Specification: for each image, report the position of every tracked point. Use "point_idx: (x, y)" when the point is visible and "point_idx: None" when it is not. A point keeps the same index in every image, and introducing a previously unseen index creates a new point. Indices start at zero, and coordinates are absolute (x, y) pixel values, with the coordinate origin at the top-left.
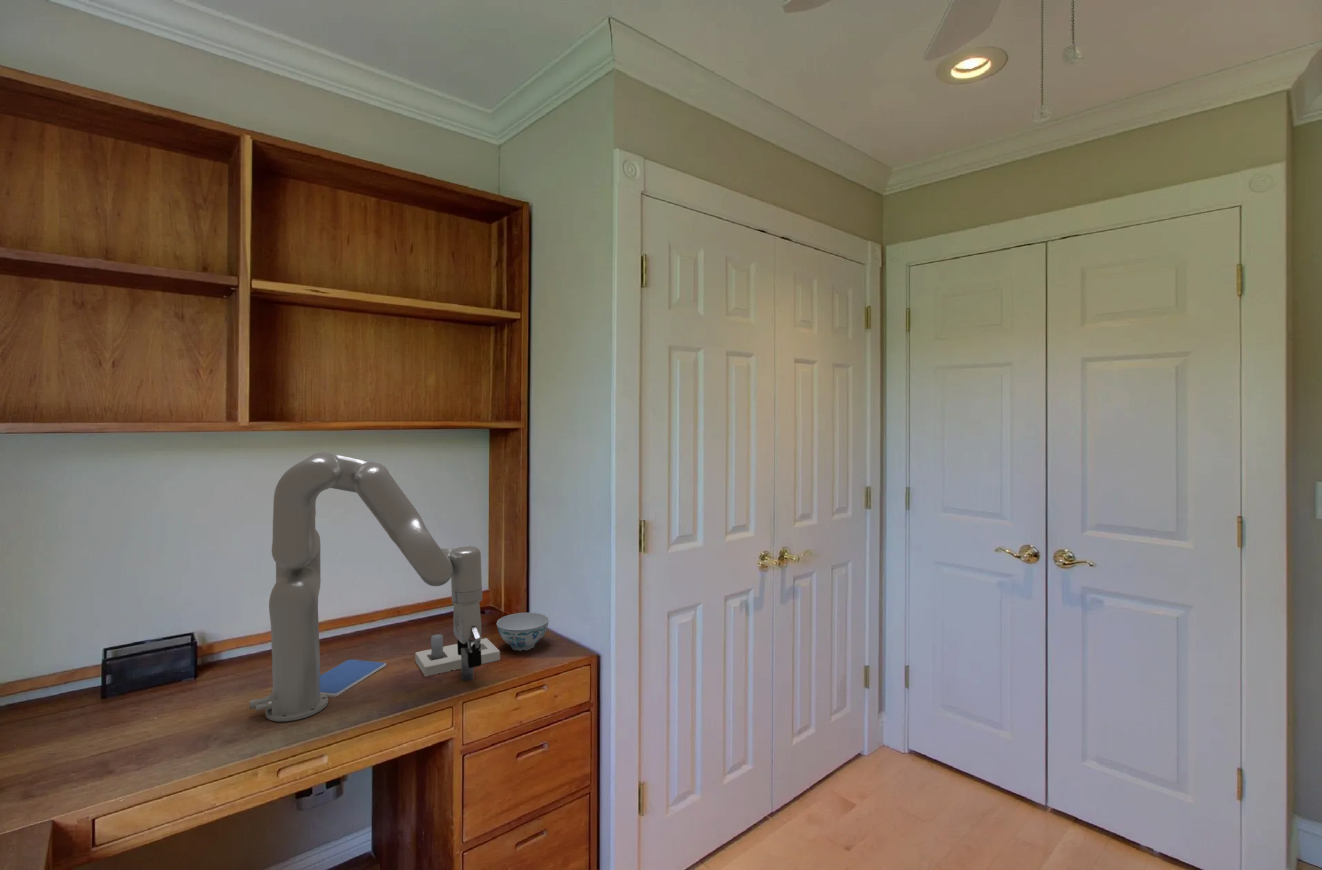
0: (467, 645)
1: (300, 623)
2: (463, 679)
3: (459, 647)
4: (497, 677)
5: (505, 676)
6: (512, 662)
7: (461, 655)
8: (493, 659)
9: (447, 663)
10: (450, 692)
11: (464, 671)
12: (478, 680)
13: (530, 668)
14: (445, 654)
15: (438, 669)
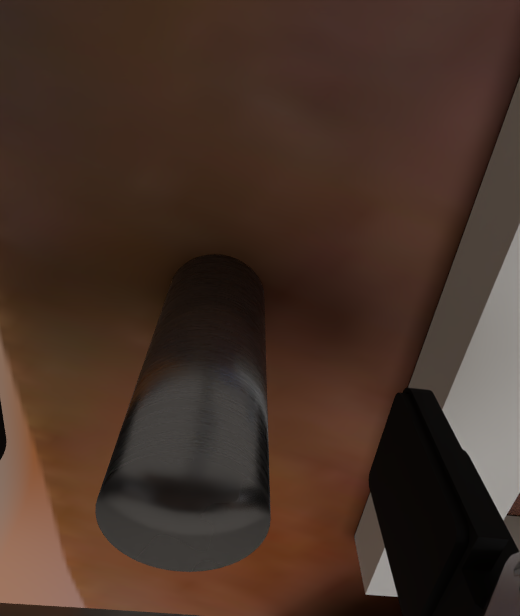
0: (396, 537)
1: None
2: (192, 264)
3: (422, 463)
4: (107, 443)
5: (94, 477)
6: (269, 563)
7: (192, 394)
8: (367, 521)
9: (497, 259)
10: (12, 71)
11: (171, 305)
12: (132, 343)
13: (125, 587)
14: None
15: (514, 156)
